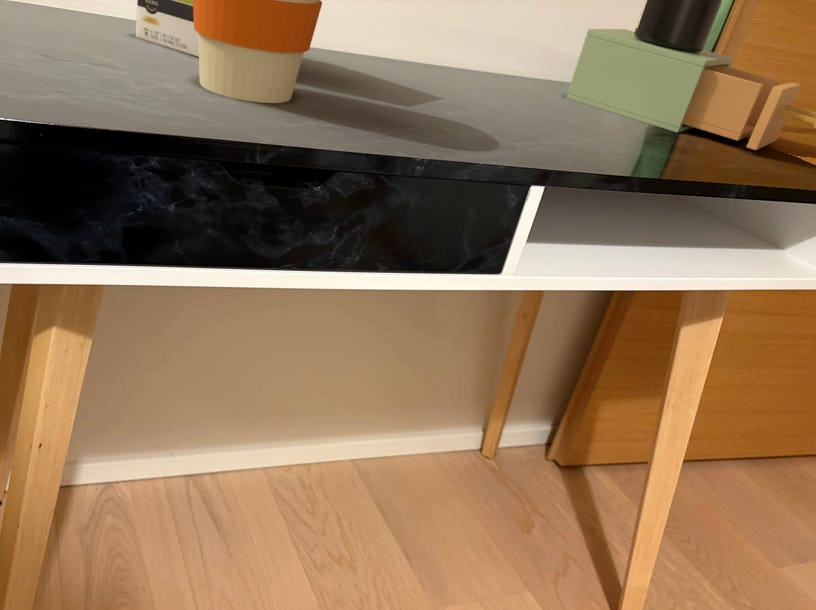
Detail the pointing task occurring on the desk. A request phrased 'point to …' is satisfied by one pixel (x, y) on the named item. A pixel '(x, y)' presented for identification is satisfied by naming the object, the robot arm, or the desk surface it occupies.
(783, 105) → the drawer
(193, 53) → the tea box
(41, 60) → the desk surface
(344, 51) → the desk surface
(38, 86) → the desk surface
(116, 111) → the desk surface
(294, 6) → the reusable coffee cup
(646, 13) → the ink bottle
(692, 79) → the cabinet
